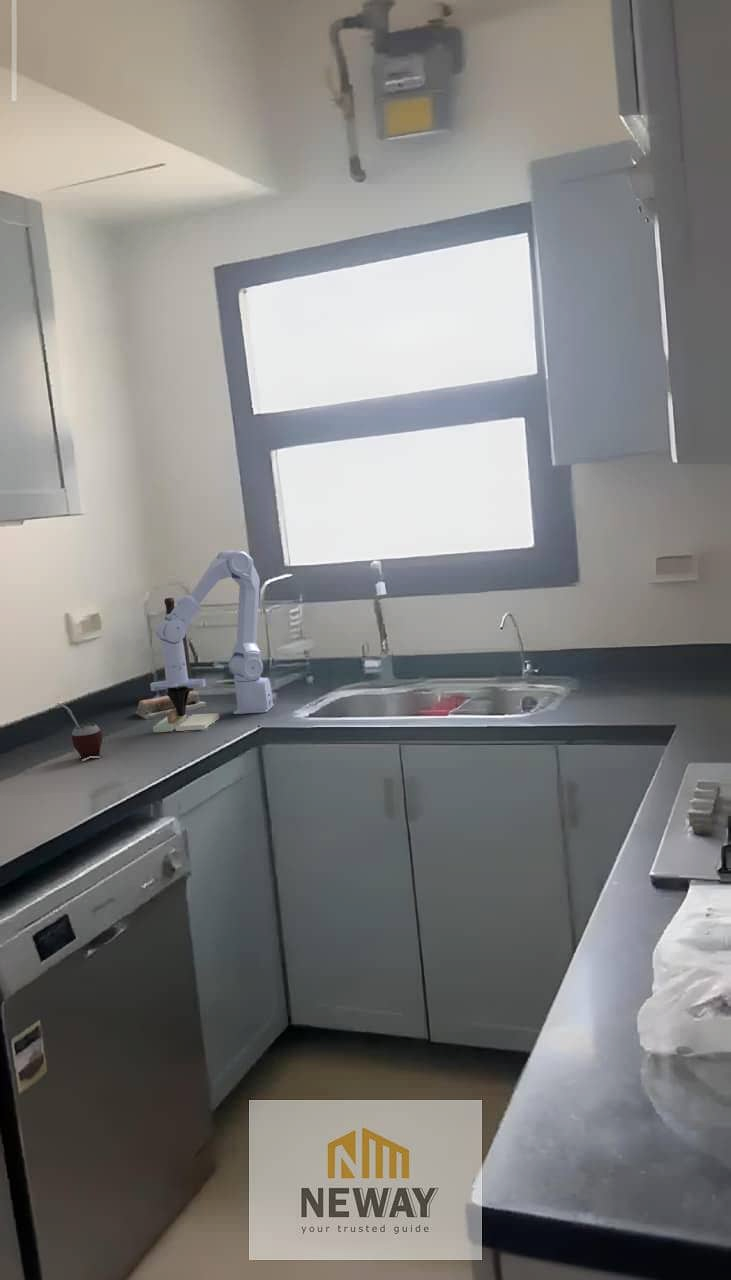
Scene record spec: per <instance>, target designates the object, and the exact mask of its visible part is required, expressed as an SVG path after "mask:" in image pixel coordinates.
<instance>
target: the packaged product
mask: <svg viewBox="0 0 731 1280" xmlns="http://www.w3.org/2000/svg"><path fill="white" fill-rule="evenodd" d="M206 707H207V702H206V701H201V700H200V696H199V693H198V692H197V691H196V690H193V691H190V692H189V695H188V698H187V703H186V711H185V712H189V711H194V710H197V709H201V708H206ZM174 708H175V706H174V704H173V702H172V701H171V699H170V698H169V697H168V695H167V694H166V695H164V696H163V695H162V696H159V697H153V698H147V699H143V700H139V702H138V705H137V711H136V710H135V715H137V716H139V717H142V718H143V719H145V720H151V719H154V718H160V717H167V713H169V712H170V711H171V710H173V709H174Z"/></svg>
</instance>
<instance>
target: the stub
mask: <svg viewBox="0 0 731 1280" xmlns="http://www.w3.org/2000/svg"><path fill="white" fill-rule="evenodd" d="M187 717H188V715H187V714H186V713H185V715H184V716H178V713H177V710H176V708H174V709H173V710H171V711H170V712H169V713H167V715H166V716H165V718H163V719H162V720H159V722H158V723H156V724H155V725H154V726H152V730H153V733H166V732H167V733H168V732H169V731H170V732H171V733H172V732H173V731H174V730H176V728H175V726H176V725H178V724H179V723H180V722H182V721H183V720H184V719H185V718H187Z"/></svg>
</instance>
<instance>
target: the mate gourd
mask: <svg viewBox="0 0 731 1280" xmlns="http://www.w3.org/2000/svg"><path fill="white" fill-rule="evenodd" d="M56 704H57V705H58V706H60V707H62V708H64V709H65V710H66V711H67V714H69V715H70V716H71V719H72V720H73V722H74V724H75V727H74V728H73V730H72V731H71V741H72V742H71V743H72V744H73V747H74V749H75V750H76V752H77V753H78V754H79V756H81V758H80V759H81V760H82V759H84V758H87V757H89V756H101V755H100V752H101V746H102V744H103V734H102V731H101V729H100V727H99V726H98V724H96V723H85V724H80V725H79V723H78V721H77V719H76V718H75V715H74V714H73V711H72V710H71V708H69V707H68V706H66V705H64V704H62V703H59V702H56Z"/></svg>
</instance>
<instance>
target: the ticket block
mask: <svg viewBox="0 0 731 1280" xmlns="http://www.w3.org/2000/svg"><path fill="white" fill-rule="evenodd" d="M219 719H220V713H219V712H216V713H215V712H214V713H213V712H212V713H197V714H196V713H195V714H189V715H187V718H185V719H184V720H183V721H182V722H180V723H179V724H178V725H176V726H175V728H176V729H175V732H176V731H184V730H195V729H205V728H207V727H208V726H209V725H211V724H212V723H213V724H215V723H216V722H217V721H218V720H219ZM216 720H217V721H216ZM215 721H216V722H215ZM213 724H212V725H213ZM212 725H211V726H212ZM207 729H208V728H207ZM184 732H185V731H184Z"/></svg>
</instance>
